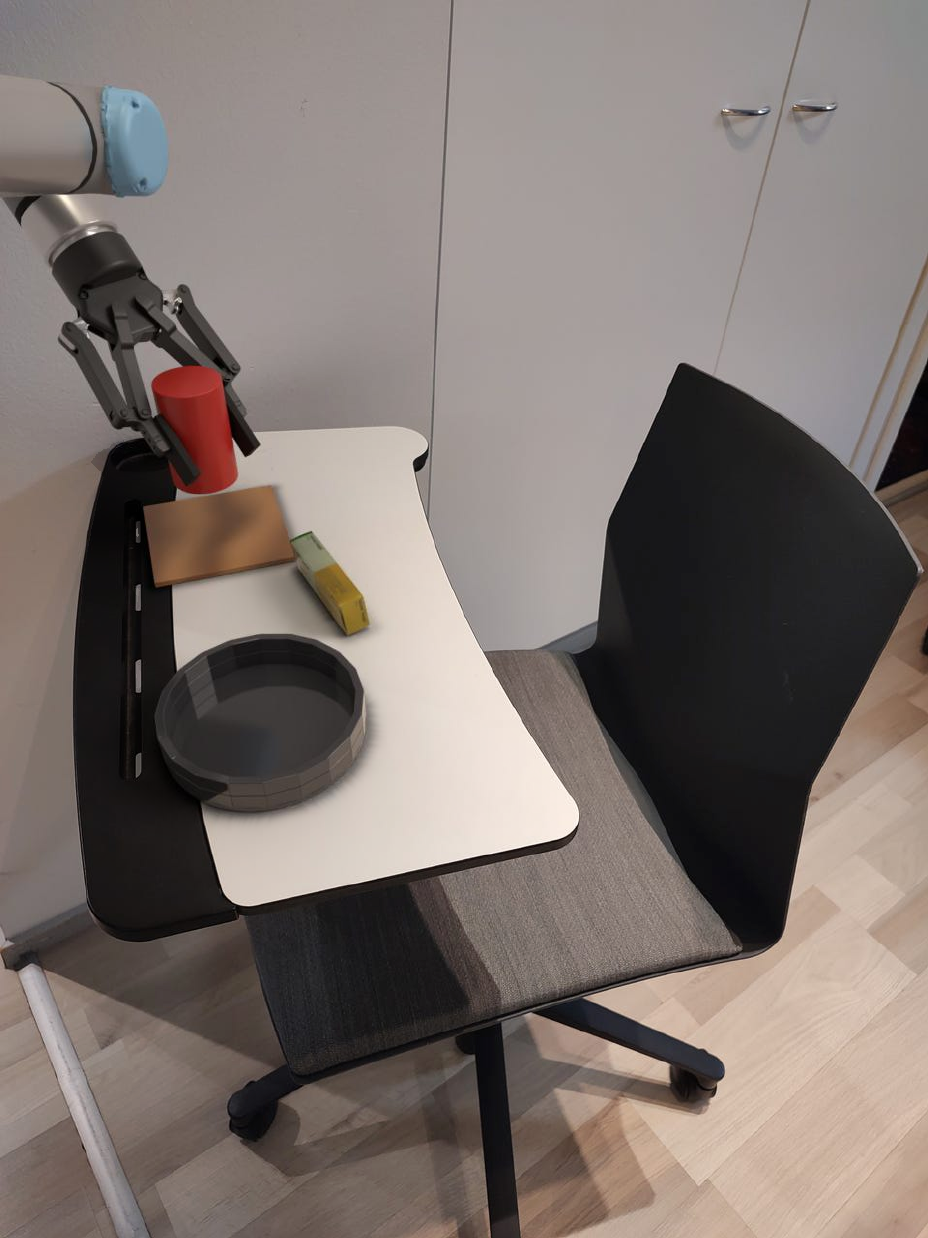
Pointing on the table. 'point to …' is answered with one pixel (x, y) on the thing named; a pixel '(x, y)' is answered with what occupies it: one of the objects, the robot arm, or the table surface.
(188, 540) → the mat
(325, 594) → the medication box
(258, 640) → the pan
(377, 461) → the table surface
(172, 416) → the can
